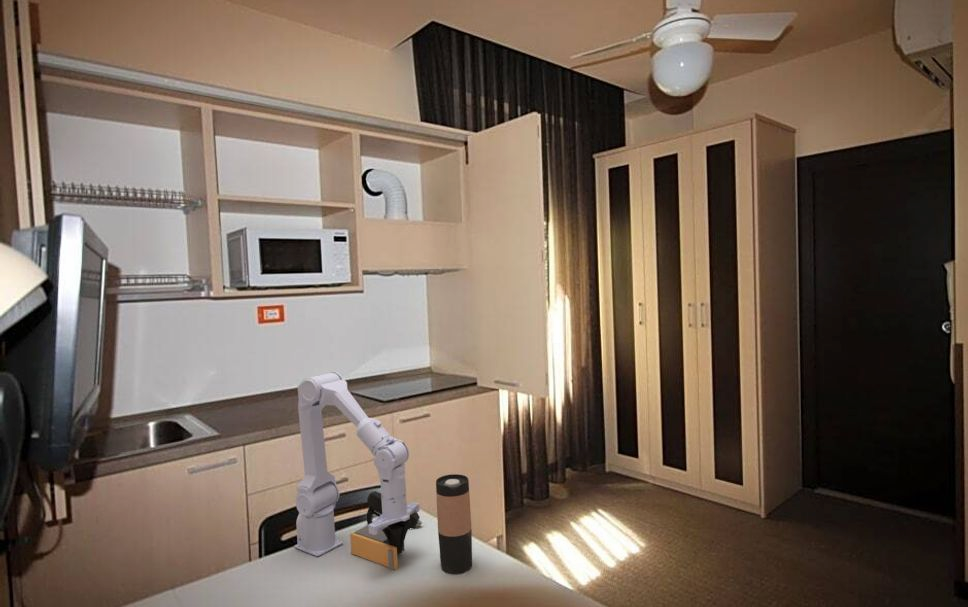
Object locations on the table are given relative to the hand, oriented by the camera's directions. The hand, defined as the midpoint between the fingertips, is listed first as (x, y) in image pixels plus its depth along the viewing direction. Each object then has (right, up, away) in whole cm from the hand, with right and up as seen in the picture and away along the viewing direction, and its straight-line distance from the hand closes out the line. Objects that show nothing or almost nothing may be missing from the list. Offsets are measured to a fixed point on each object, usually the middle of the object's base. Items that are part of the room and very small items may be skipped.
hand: (397, 552), depth 126 cm
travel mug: (+14, -2, -2) cm, 14 cm away
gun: (-4, -3, +21) cm, 21 cm away
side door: (-6, -3, +2) cm, 7 cm away
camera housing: (-5, -3, +7) cm, 9 cm away
